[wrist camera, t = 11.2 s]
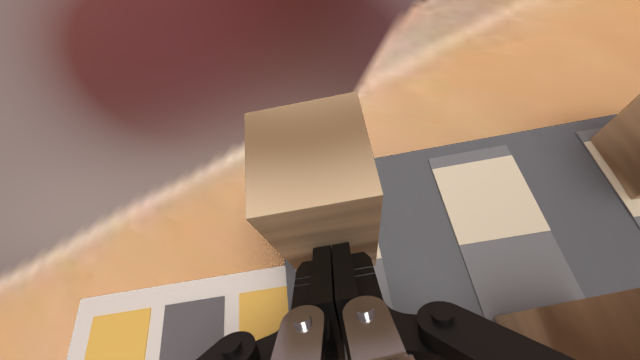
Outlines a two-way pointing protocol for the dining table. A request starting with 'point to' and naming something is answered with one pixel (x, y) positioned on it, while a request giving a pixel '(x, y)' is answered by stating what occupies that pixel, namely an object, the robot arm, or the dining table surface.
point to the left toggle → (312, 177)
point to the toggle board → (504, 224)
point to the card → (179, 317)
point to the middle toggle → (584, 326)
